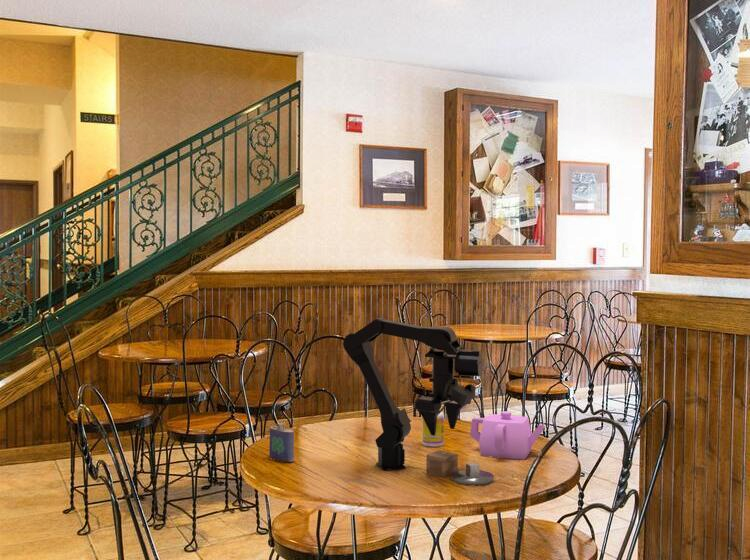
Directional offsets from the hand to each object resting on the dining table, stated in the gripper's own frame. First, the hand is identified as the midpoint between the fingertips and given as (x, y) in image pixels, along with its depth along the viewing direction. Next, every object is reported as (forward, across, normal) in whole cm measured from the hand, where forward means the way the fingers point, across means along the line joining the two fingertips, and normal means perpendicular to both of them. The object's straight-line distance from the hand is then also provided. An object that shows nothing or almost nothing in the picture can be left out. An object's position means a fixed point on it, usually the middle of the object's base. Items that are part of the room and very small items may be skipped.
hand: (442, 432), depth 196 cm
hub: (+11, 0, -9) cm, 14 cm away
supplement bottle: (+11, +23, +19) cm, 32 cm away
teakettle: (+11, +29, -4) cm, 31 cm away
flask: (+11, -19, +43) cm, 48 cm away
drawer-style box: (+11, 0, 0) cm, 11 cm away
